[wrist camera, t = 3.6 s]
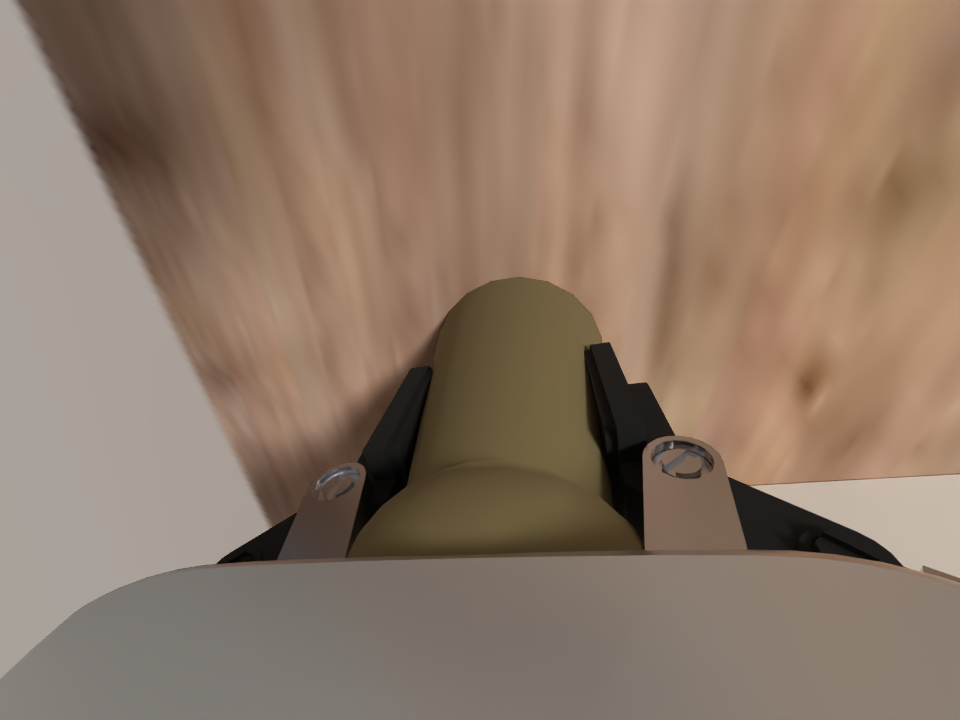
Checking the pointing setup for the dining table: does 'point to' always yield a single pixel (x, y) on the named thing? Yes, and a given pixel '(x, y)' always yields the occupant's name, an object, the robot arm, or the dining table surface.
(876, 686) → the robot arm
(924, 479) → the platform
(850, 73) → the dining table surface
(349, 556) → the cork
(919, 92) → the dining table surface
